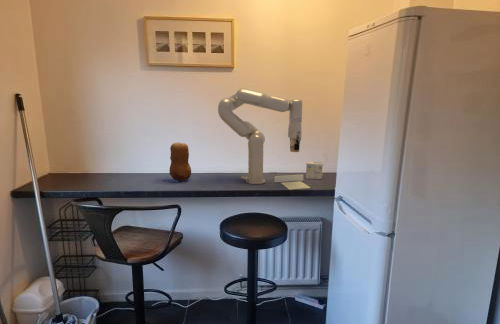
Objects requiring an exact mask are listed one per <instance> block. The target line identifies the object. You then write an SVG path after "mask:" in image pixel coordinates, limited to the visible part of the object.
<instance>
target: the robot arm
mask: <svg viewBox="0 0 500 324" xmlns="http://www.w3.org/2000/svg"><path fill="white" fill-rule="evenodd" d="M245 104H246V105H250V106H253V107H258V108H263V109H268V110H271V111H275V112H280V113H285V112H289V113H288V114H289V118H288V119H289V120H288V121H289V122H288V128H287V129H288V131H287V137H288V138H289V143H290V142H291V138H292V139H295V144H294V150H299V151H300V144H301V140H302V119H303V118H302V117H303V100H302V99H285V98H280V97H275V96H271V95H267V94H266V93H264V92H258V91H254V90H250V89H246V88H240V89H238V90H237V91H236V93H234V94H233V95H231V96H229V97H224V98H222V99H221V100H220V101H219V102H218V107H217V112H218V115H219V117H220V119H221V120H222V122H223V123H224V124H226V125H227V126H228V127H229V128H230V129H231V130H232V131H233V132H235V133H236V134H237V135H238V136H239V137H241V138H246V139H247V149H248V150H247V151H248V155H247V156H248V159H247V160H248V169H247V171H248V172H247V174H246V175H243V176H240V179H241V180H244V181H245V182H246V183H247V184H250V185H262V184H265V183H266V179H264V144H265V141H266V140H265V139H266V138H265V135H264V134H263V132H261V130H259V129H258V128H257V127H256V126H254V125H253V124H252V123H251V122H249V121H247V120H245V121H244V120H243V119H241V118H240V116H238V115H237V114H236V113H235V112H234V110H237V109H238V108H240V107H241V106H244V105H245ZM296 138H297V139H296ZM296 140H297V141H296Z"/></svg>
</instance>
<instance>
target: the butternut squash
mask: <svg viewBox="0 0 500 324" xmlns="http://www.w3.org/2000/svg"><path fill="white" fill-rule="evenodd" d="M169 148H170V157H169V158H170V166H169V171H168V172H169V175H170V176H171V178H172V180H175V181H179V182H184V181H186V180H188V179H190V178H191V176H192V168H191V166H190V165H191V164H190V163H189V156H190V153H189V151H190V150H189V146H188V144H187V143H184V142H173V143H172V144H171V145H170V147H169Z"/></svg>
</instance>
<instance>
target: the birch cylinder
mask: <svg viewBox="0 0 500 324" xmlns="http://www.w3.org/2000/svg"><path fill="white" fill-rule="evenodd" d="M296 139H297V138H296ZM296 141H297V140H296ZM294 144H295V139H292V138H291V142H290V141H289V152H292V153H299V152H300V149H299V150H294Z"/></svg>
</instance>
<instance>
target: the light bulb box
mask: <svg viewBox="0 0 500 324" xmlns="http://www.w3.org/2000/svg"><path fill="white" fill-rule="evenodd" d="M305 165H306V167H305V178H306V180H309V179H310V180H322V179H323V162H321V161H306V163H305Z"/></svg>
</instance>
